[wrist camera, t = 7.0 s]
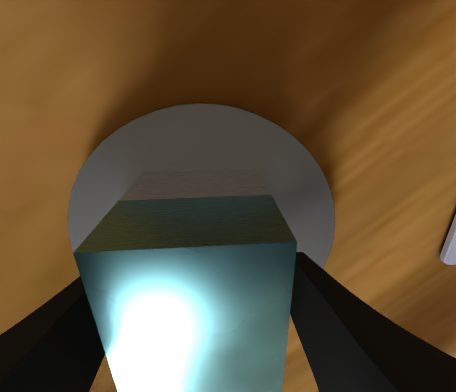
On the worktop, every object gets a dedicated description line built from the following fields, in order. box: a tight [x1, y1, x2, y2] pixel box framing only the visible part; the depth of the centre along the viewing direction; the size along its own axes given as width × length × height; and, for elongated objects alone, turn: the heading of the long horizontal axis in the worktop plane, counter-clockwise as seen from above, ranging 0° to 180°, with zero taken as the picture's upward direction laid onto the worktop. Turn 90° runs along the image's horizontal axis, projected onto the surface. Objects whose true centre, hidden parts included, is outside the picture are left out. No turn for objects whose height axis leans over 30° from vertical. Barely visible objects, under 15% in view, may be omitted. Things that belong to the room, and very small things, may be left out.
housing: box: [73, 168, 297, 392], centre depth 10 cm, size 8×5×6 cm, turn 1°
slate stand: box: [68, 103, 335, 269], centre depth 13 cm, size 13×13×2 cm
